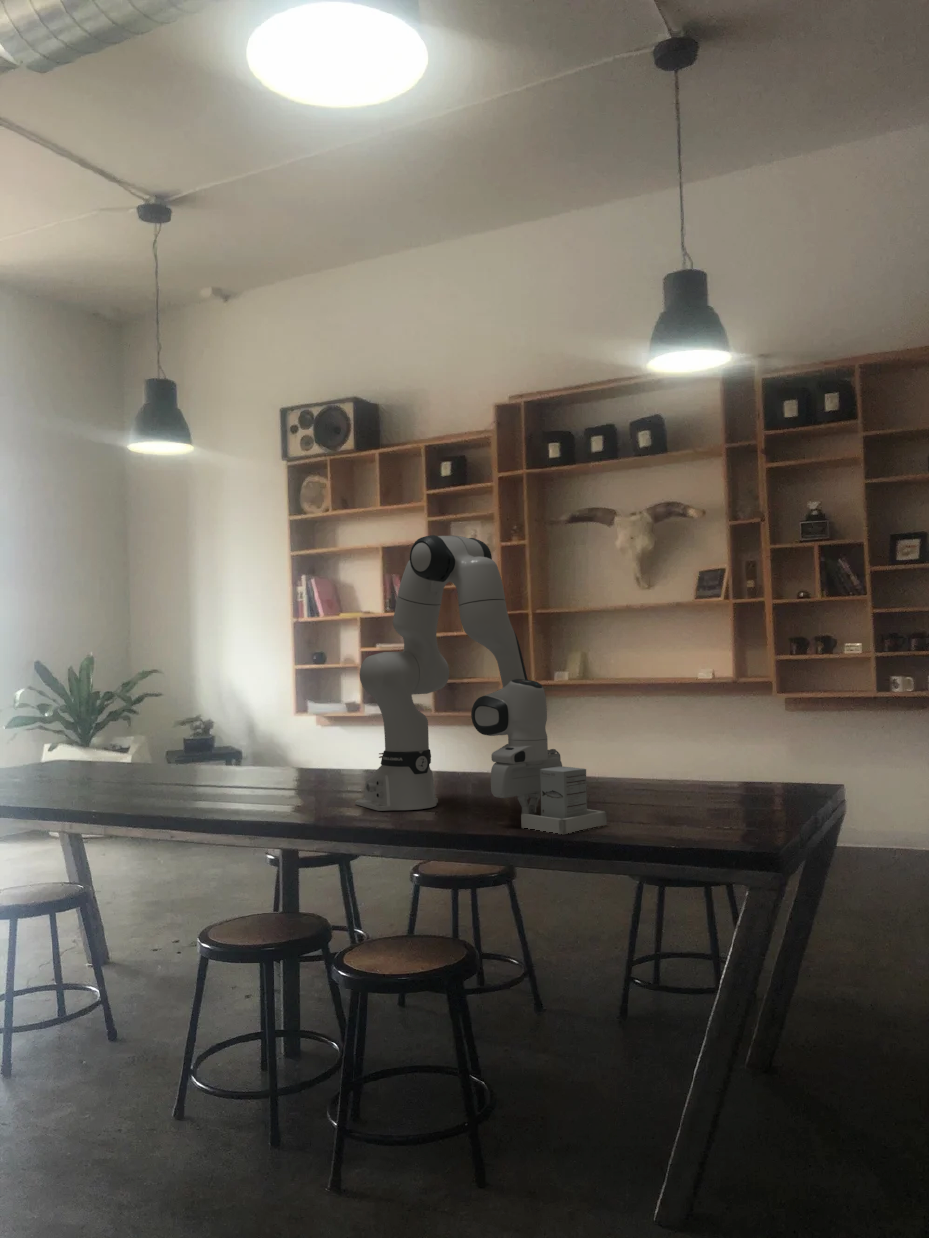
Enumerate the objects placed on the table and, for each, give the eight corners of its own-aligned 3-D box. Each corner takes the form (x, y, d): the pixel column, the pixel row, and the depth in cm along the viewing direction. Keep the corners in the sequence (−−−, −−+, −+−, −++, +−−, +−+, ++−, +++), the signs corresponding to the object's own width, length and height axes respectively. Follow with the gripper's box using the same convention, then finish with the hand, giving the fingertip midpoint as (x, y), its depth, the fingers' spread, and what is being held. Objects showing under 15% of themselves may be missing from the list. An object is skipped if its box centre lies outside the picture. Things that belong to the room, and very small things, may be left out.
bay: (521, 828, 204) (521, 814, 204) (565, 819, 213) (564, 806, 213) (562, 834, 195) (562, 820, 195) (606, 825, 204) (606, 811, 204)
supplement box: (540, 827, 204) (538, 768, 205) (563, 822, 209) (561, 765, 210) (565, 831, 199) (563, 771, 199) (588, 826, 204) (587, 767, 204)
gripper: (549, 747, 221) (550, 806, 221) (485, 754, 208) (486, 817, 207) (569, 748, 217) (570, 809, 216) (505, 756, 203) (506, 821, 203)
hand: (529, 813), depth 212 cm, fingers closed
